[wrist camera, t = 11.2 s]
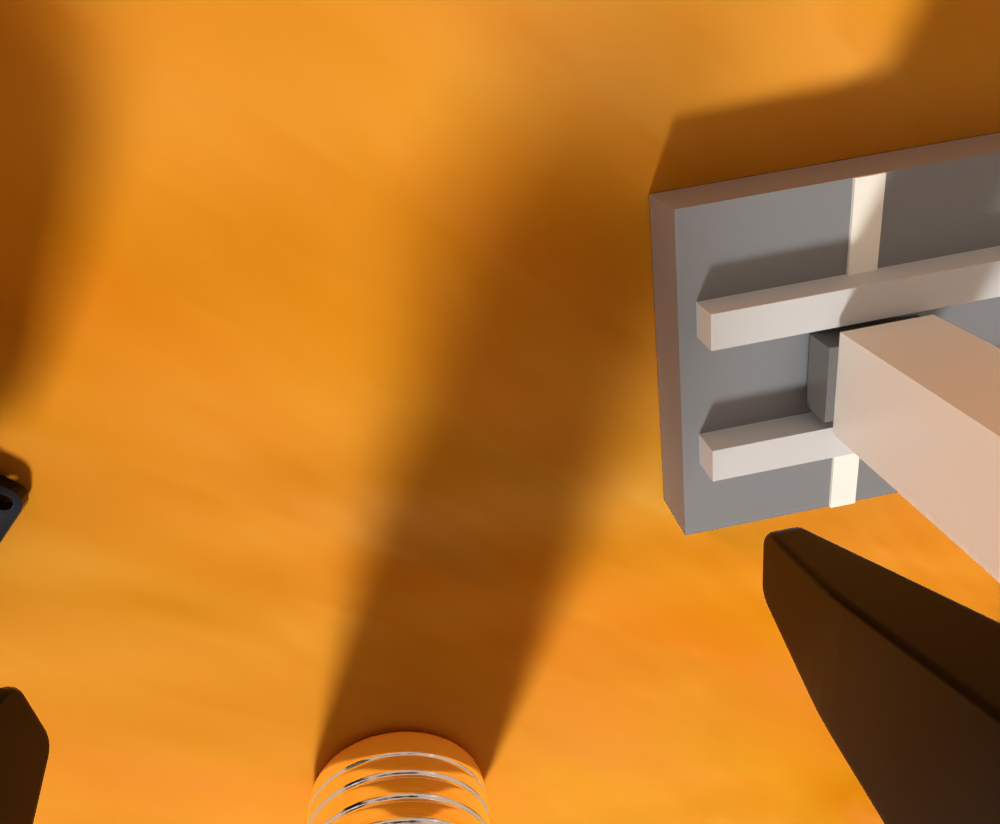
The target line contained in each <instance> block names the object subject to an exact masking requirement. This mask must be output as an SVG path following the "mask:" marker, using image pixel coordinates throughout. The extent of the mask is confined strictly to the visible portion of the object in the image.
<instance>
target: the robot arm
mask: <svg viewBox="0 0 1000 824" xmlns="http://www.w3.org/2000/svg"><path fill="white" fill-rule="evenodd" d="M0 495H4V496H7V497H9V498H10V499H11V500H12V503H9V502H6V501H4V500H3V499H1V497H0V543H1V541H2V540H3V538H4V537H5V535H6V534H7V532H8V531H9V529H10V528H11V526H12V525H13V523H14V522H15V520H16V519H17V517H18V516H19V514H20V513H21V511H22V510H23V508H24V507H25V505H26V504H27V501H28V499H29V498H28V493H27V491H26V490H25V488H24V487H23V486H21V485H20V484H18V483H17V482H15V481H13V480H11V479H9V478H7V477H4V476H2V475H0ZM763 592H764V596H765V599H766V603H767V605H768V607H769V609H770V611H771V614H772V616H773V618H774V620H775V622H776V624H777V626H778V629H779V631H780V633H781V635H782V637H783V639H784V642H785V644H786V646H787V648H788V650H789V652H790V654H791V657H792V659H793V661H794V663H795V665H796V667H797V669H798V672H799V674H800V676H801V678H802V680H803V682H804V684H805V687H806V689H807V691H808V693H809V695H810V697H811V699H812V701H813V703H814V705H815V707H816V709H817V711H818V713H819V715H820V717H821V719H822V721H823V722H824V724H825V726H826V728H827V729H828V731H829V733H830V734H831V736H832V738H833V739H834V741H835V743H836V744H837V746H838V748H839V749H840V751H841V753H842V754H843V756H844V758H845V759H846V761H847V763H848V764H849V766H850V767H851V769H852V771H853V772H854V774H855V776H856V777H857V779H858V781H859V782H860V784H861V786H862V787H863V789H864V791H865V792H866V794H867V796H868V797H869V799H870V801H871V802H872V804H873V805H874V807H875V809H876V810H877V812H878V814H879V815H880V817H881V819H882V820H883V822H884V824H1000V623H999V622H997V621H995V620H993V619H990V618H988V617H986V616H984V615H982V614H980V613H978V612H976V611H974V610H972V609H970V608H968V607H965V606H963V605H961V604H959V603H957V602H955V601H953V600H951V599H949V598H947V597H945V596H943V595H940V594H938V593H936V592H934V591H932V590H930V589H928V588H926V587H924V586H922V585H920V584H918V583H915V582H913V581H911V580H909V579H907V578H905V577H903V576H901V575H899V574H897V573H895V572H893V571H890V570H888V569H886V568H884V567H882V566H880V565H878V564H876V563H874V562H872V561H870V560H868V559H865V558H863V557H861V556H859V555H857V554H855V553H853V552H851V551H849V550H847V549H845V548H843V547H840V546H838V545H836V544H834V543H832V542H830V541H828V540H826V539H824V538H822V537H820V536H818V535H815V534H813V533H811V532H809V531H807V530H805V529H802V528H798V527H796V528H789V529H784V530H779V531H774V532H771V533H769V534H768V535H767V536H766V537H765V540H764V552H763ZM48 755H49V739H48V736H47V733H46V730H45V729H44V727H43V725H42V724H41V722H40V721H39V719H38V717H37V716H36V714H35V712H34V711H33V709H32V708H31V706H30V704H29V703H28V701H27V699H26V698H25V696H24V695H23V693H22V692H21V691H20V690H18V689H17V688H15V687H3V688H0V824H33V821H34V817H35V813H36V808H37V804H38V799H39V795H40V791H41V786H42V782H43V777H44V773H45V768H46V764H47V760H48Z"/></svg>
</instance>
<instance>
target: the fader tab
mask: <svg viewBox="0 0 1000 824" xmlns="http://www.w3.org/2000/svg"><path fill="white" fill-rule="evenodd" d="M806 407H807V408H809V409H810V410H811V411H812V412H813V413H814V414H815V415H816V416H818V417H819V418H820V419H821V420H822V421H823V422H824V423H826V422H831V421H833V435H834V436H836V437H837V438H838V439H839V440H840V441H841V442H842V443H843V444H845V445H846V446H847V447H848V448H849V449H850V450H851V451H852V452H854V453H855V454H856V455H857V456H858V457H859V458H860V459H861V460H862V461H864V462H865V463H866V464H867V465H868V466H869V467H870V468H871V469H873V470H874V471H875V472H876V473H877V474H878V475H879V476H880V477H882V478H883V479H884V480H885V481H886V482H887V483H888V484H889V485H890V486H892V487H893V488H894V489H895V490H896V491H897V492H898V493H899V494H901V495H902V496H903V497H904V498H905V499H906V500H907V501H908V502H910V503H911V504H912V505H913V506H914V507H915V508H916V509H917V510H918V511H920V512H921V513H922V514H923V515H924V516H925V517H926V518H927V519H929V520H930V521H931V522H932V523H933V524H934V525H935V526H936V527H938V528H939V529H940V530H941V531H942V532H943V533H944V534H945V535H946V536H948V537H949V538H950V539H951V540H952V541H953V542H954V543H955V544H957V545H958V546H959V547H960V548H961V549H962V550H963V551H964V552H965V553H967V554H968V555H969V556H970V557H971V558H972V559H973V560H974V561H976V562H977V563H978V564H979V565H980V566H981V567H982V568H983V569H985V570H986V571H987V572H988V573H989V574H990V575H991V576H992V577H993V578H995V579H996V580H997V581H998V582H999V583H1000V348H998V347H996V346H994V345H992V344H990V343H988V342H986V341H984V340H982V339H980V338H978V337H977V336H975V335H973V334H971V333H969V332H967V331H965V330H963V329H961V328H959V327H957V326H955V325H953V324H951V323H949V322H947V321H945V320H943V319H941V318H939V317H937V316H935V315H928V316H922V317H920V316H918V315H917V314H916V315H910V316H905V317H900V318H895V319H889V320H884V321H879V322H873V323H868V324H863V325H858V326H852V327H847V328H842V329H837V330H831V331H826V332H821V333H815V334H810V347H809V365H808V384H807V402H806Z"/></svg>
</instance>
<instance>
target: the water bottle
mask: <svg viewBox="0 0 1000 824" xmlns="http://www.w3.org/2000/svg"><path fill="white" fill-rule="evenodd" d="M305 824H492V823H491V812H490V806H489V802H488V797H487V791H486V787H485V783H484V780H483V777H482V774H481V772H480V770H479V767H478V766H477V764H476V762H475V761H474V760H473V758H472V757H471V756H470V755H469V754H468V753H467V752H466V751H465V750H464V749H462V748H461V747H460V746H458V745H457V744H455V743H453V742H451V741H449V740H447V739H445V738H442V737H439V736H436V735H432V734H428V733H422V732H392V733H385V734H380V735H376V736H372V737H369V738H366V739H364V740H361V741H359V742H357V743H354V744H353V745H351V746H349V747H347V748H346V749H344V750H342V751H341V752H340V753H338V754H337V755H336V756H335V757H333V758H332V759H331V760H330V761H329V762H328V763H327V764H326V766H325V767H324V768H323V769H322V771H321V772H320V774H319V776H318V777H317V779H316V781H315V784H314V786H313V789H312V792H311V796H310V799H309V804H308V809H307V817H306V821H305Z"/></svg>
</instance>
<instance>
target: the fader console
mask: <svg viewBox="0 0 1000 824" xmlns="http://www.w3.org/2000/svg"><path fill="white" fill-rule="evenodd" d="M649 204H650V224H651V245H652V265H653V285H654V306H655V326H656V347H657V367H658V388H659V408H660V428H661V449H662V469H663V490H664V500H665V502H666V504H667V505H668V507H669V509H670V510H671V512H672V514H673V515H674V517H675V519H676V521H677V522H678V524H679V526H680V527H681V529H682V531H683V532H684V534H685V535H689V534H694V533H699V532H704V531H709V530H714V529H719V528H724V527H729V526H734V525H739V524H744V523H748V522H753V521H758V520H763V519H768V518H773V517H778V516H783V515H788V514H793V513H798V512H803V511H808V510H813V509H817V508H822V507H827V506H829V507H830V508H833V507H838V506H843V505H848V504H853V503H855V501H857V500H862V499H867V498H872V497H877V496H882V495H886V494H891V493H896V492H897V491H896V490H895V489H894V488H893V487H892V486H890V485H889V484H888V483H887V482H886V481H885V480H884V479H883V478H882V477H880V476H879V475H878V474H877V473H876V472H875V471H874V470H873V469H871V468H870V467H869V466H868V465H867V464H866V463H865V462H864V461H862V460H861V459H860V458H859V457H858V456H857V455H856V454H855V453H854V452H852V451H851V450H850V449H849V448H848V447H847V446H846V445H845V444H843V443H842V442H841V441H840V440H839V439H838V438H837V437H836V436H834V435H833V421H831V422H826V423H824V422H823V421H822V420H821V419H820V418H819V417H818V416H816V415H815V414H814V413H813V412H812V411H811V410H810V409H809V408H807V407H806V402H807V384H808V365H809V347H810V334H815V333H821V332H826V331H831V330H837V329H842V328H847V327H852V326H858V325H863V324H868V323H873V322H879V321H884V320H889V319H895V318H900V317H905V316H910V315H916V314H917V315H918V316H920V317H922V316H928V315H935V316H937V317H939V318H941V319H943V320H945V321H947V322H949V323H951V324H953V325H955V326H957V327H959V328H961V329H963V330H965V331H967V332H969V333H971V334H973V335H975V336H977V337H978V338H980V339H982V340H984V341H986V342H988V343H990V344H992V345H994V346H996V347H998V348H1000V132H999V133H993V134H987V135H982V136H976V137H970V138H965V139H959V140H953V141H948V142H942V143H936V144H931V145H925V146H919V147H914V148H908V149H902V150H897V151H891V152H885V153H880V154H874V155H868V156H863V157H857V158H851V159H846V160H840V161H834V162H829V163H823V164H817V165H812V166H806V167H800V168H795V169H789V170H783V171H778V172H772V173H766V174H761V175H755V176H749V177H744V178H738V179H732V180H727V181H721V182H715V183H710V184H704V185H698V186H693V187H687V188H681V189H676V190H670V191H664V192H659V193H653V194H649Z"/></svg>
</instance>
